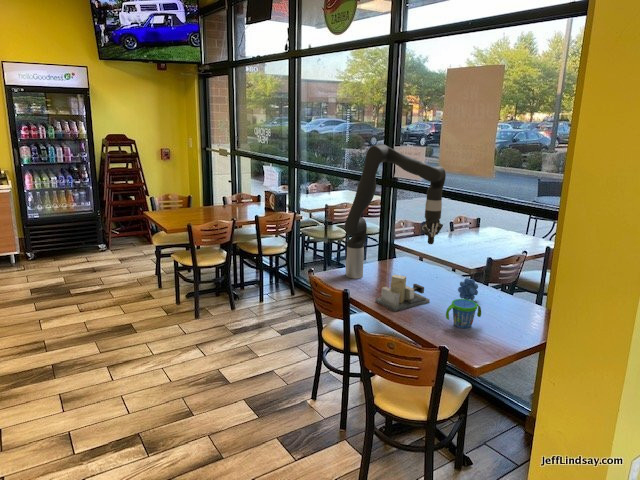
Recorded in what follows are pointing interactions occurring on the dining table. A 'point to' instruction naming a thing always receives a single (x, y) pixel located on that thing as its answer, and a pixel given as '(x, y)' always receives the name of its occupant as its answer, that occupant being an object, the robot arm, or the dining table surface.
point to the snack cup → (463, 312)
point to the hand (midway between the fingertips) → (430, 243)
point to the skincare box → (399, 286)
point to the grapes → (468, 289)
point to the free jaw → (412, 291)
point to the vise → (392, 300)
